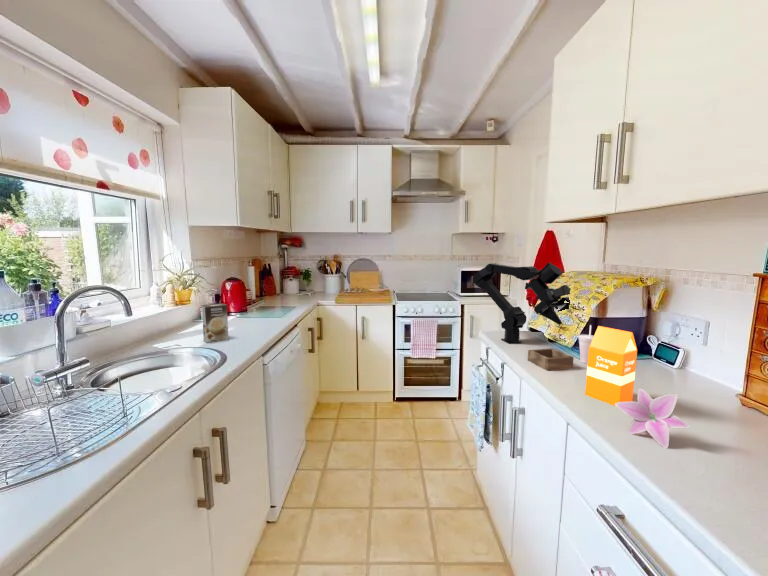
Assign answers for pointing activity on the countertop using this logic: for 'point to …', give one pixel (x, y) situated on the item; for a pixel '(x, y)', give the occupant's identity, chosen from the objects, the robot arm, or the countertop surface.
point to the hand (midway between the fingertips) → (567, 322)
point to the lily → (653, 415)
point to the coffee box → (215, 322)
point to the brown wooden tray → (550, 359)
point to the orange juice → (611, 366)
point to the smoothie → (585, 346)
